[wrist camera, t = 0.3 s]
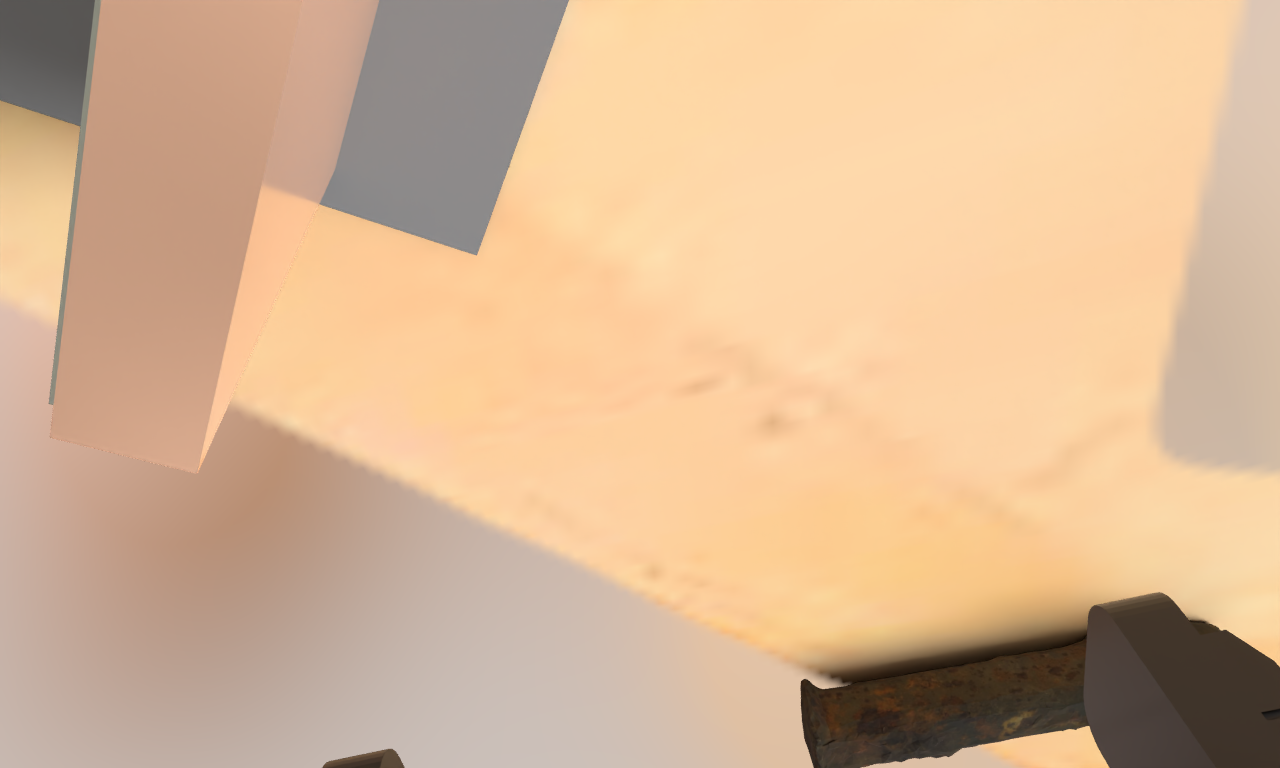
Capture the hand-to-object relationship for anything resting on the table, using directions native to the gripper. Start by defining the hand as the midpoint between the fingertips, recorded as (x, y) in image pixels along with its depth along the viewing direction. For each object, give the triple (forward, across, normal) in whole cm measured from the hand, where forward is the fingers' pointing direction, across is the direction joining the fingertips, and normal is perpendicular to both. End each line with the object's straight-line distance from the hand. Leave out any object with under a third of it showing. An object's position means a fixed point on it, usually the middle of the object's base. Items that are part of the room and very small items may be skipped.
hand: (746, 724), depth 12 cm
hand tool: (+24, -12, +27) cm, 38 cm away
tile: (+22, +7, -6) cm, 23 cm away
